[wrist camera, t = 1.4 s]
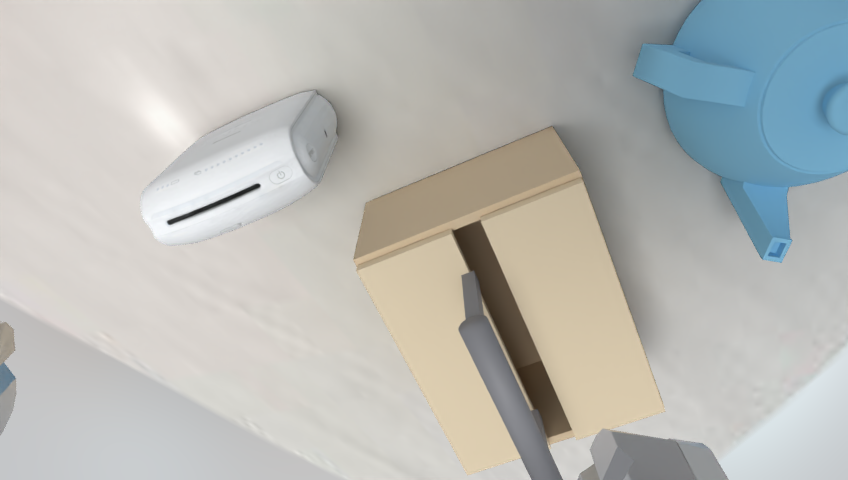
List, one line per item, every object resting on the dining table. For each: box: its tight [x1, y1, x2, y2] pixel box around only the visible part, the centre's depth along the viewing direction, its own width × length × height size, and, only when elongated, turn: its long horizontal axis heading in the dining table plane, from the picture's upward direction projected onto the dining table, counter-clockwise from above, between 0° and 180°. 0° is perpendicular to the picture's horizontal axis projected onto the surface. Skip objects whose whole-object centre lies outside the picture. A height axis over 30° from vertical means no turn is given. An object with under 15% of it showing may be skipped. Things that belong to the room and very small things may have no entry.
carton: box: [353, 126, 665, 444], centre depth 45 cm, size 14×18×10 cm
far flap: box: [357, 229, 563, 480], centre depth 39 cm, size 7×17×7 cm, turn 24°
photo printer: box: [140, 90, 338, 246], centre depth 40 cm, size 10×4×12 cm, turn 113°
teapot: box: [633, 0, 848, 263], centre depth 38 cm, size 15×15×11 cm
